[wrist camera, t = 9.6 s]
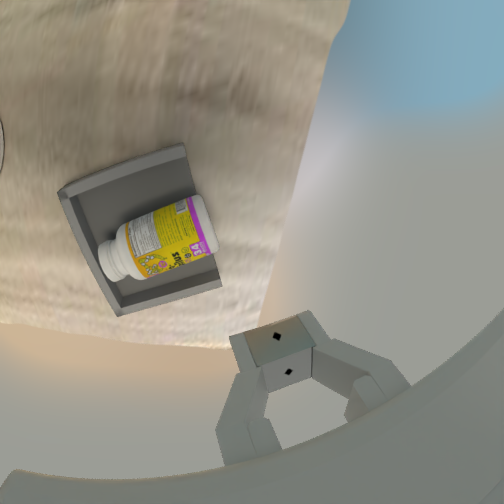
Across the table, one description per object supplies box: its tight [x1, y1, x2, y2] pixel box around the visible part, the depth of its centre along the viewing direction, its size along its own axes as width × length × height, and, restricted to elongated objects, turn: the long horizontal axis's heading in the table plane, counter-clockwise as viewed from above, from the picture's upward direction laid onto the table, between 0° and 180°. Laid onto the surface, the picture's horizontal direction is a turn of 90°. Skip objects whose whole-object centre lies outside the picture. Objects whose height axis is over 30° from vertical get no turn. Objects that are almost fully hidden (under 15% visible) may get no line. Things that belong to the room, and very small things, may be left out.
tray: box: [57, 143, 222, 317], centre depth 30 cm, size 15×18×3 cm
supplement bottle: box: [98, 195, 220, 282], centre depth 29 cm, size 7×7×13 cm
